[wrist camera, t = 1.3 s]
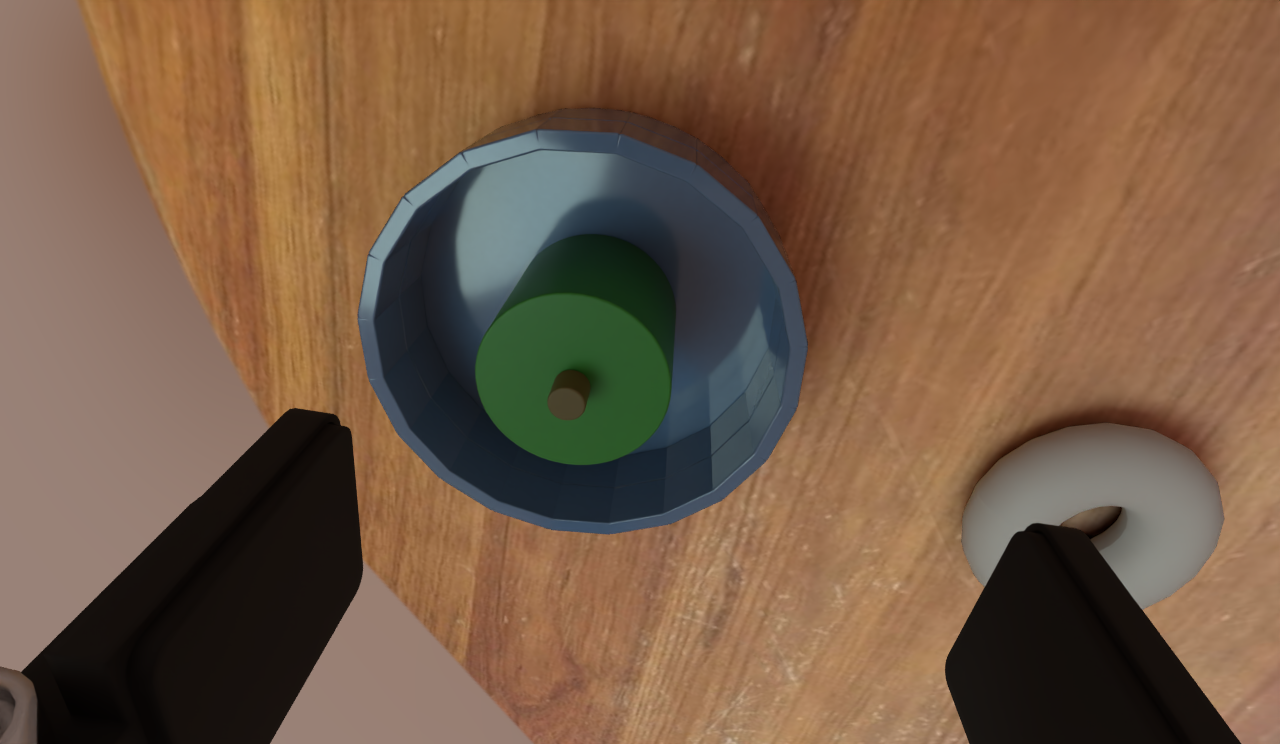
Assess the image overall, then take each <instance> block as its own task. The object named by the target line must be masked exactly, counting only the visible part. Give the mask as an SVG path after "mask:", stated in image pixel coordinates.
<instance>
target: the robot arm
mask: <svg viewBox="0 0 1280 744" xmlns="http://www.w3.org/2000/svg"><path fill="white" fill-rule="evenodd" d="M362 573H363V560H362V548H361V536H360V525H359V513H358V502H357V490H356V479H355V467H354V456H353V444H352V435H351V431H350V429H349V428H348V427H345V426H341V425H340V420H339V419H338V417H337V416H336V415H334V414H330V413H323V412H317V411H310V410H304V409H297V408H293V409H290V410H288V411H287V412H285V413H284V414H283V415H282V416H281V417H280V418H279V419H278V420H277V421H276V422H275V423H274V424H273V425H272V426H271V427H270V428H269V429H268V430H267V431H266V432H265V433H264V434H263V435H262V436H261V437H260V438H259V439H258V440H257V441H256V442H255V443H254V444H253V445H252V446H251V447H250V448H249V449H248V450H247V451H246V452H245V453H244V454H243V455H242V456H241V457H240V458H239V459H238V460H237V461H236V462H235V463H234V464H233V465H232V466H231V467H230V468H229V469H228V470H227V471H226V472H225V473H224V474H223V475H222V476H221V477H220V478H219V479H218V480H217V481H216V482H215V483H214V484H213V485H212V486H211V487H210V488H209V489H208V490H207V491H206V492H205V493H204V494H203V495H202V496H201V497H199V498H198V499H197V500H196V501H194V502H193V503H192V504H190V505H189V506H188V507H187V508H186V509H185V510H184V511H183V512H182V513H181V514H180V515H179V516H178V517H177V518H176V519H175V520H174V521H173V522H172V523H171V524H170V525H169V526H168V527H167V528H166V529H165V530H164V531H163V532H162V533H161V534H160V535H159V536H158V537H157V538H156V539H155V540H154V541H153V542H152V543H151V544H150V545H149V546H148V547H147V548H146V549H145V550H144V551H143V552H142V553H141V554H140V555H139V556H138V557H137V558H136V559H135V560H134V561H133V562H132V563H131V564H130V565H129V566H128V567H127V568H126V569H125V570H124V571H123V572H122V573H121V574H120V575H118V576H117V577H116V578H115V579H114V581H112V582H111V583H110V584H109V585H108V586H107V587H106V588H105V589H104V590H103V591H102V592H101V593H100V594H99V595H98V596H97V598H95V599H94V600H93V601H92V602H91V603H90V604H89V605H88V606H87V607H86V608H85V609H84V610H83V611H82V612H81V613H80V614H79V615H78V616H77V617H76V618H75V619H74V620H73V621H72V622H71V623H70V624H69V625H68V626H67V627H66V628H65V629H64V630H63V631H62V632H61V633H60V634H59V635H58V636H57V637H56V638H55V639H54V640H53V641H52V642H51V643H50V644H49V645H48V646H47V647H46V648H45V649H44V650H43V651H42V652H41V653H40V654H39V655H38V656H37V657H36V658H35V659H34V660H33V661H32V662H31V663H30V664H29V665H28V666H27V667H26V668H25V669H24V670H23V671H22V672H20V671H16V670H12V669H8V668H4V667H0V744H270V743H271V741H272V739H273V737H274V736H275V734H276V732H277V730H278V729H279V727H280V725H281V723H282V721H283V720H284V718H285V716H286V715H287V713H288V711H289V710H290V708H291V706H292V704H293V702H294V701H295V699H296V697H297V696H298V694H299V692H300V690H301V689H302V687H303V685H304V683H305V682H306V680H307V678H308V676H309V675H310V673H311V671H312V669H313V668H314V666H315V664H316V662H317V661H318V659H319V657H320V655H321V654H322V652H323V650H324V648H325V647H326V645H327V643H328V641H329V640H330V638H331V636H332V634H333V633H334V631H335V629H336V627H337V626H338V624H339V622H340V621H341V619H342V617H343V615H344V613H345V612H346V610H347V608H348V607H349V605H350V603H351V601H352V600H353V598H354V596H355V594H356V592H357V590H358V588H359V585H360V582H361V579H362ZM945 675H946V681H947V684H948V687H949V690H950V693H951V695H952V698H953V701H954V703H955V706H956V709H957V711H958V714H959V717H960V719H961V722H962V725H963V727H964V730H965V733H966V736H967V738H968V741H969V744H1241V743H1240V741H1239V740H1238V739H1237V737H1236V736H1235V735H1234V733H1233V732H1232V731H1231V729H1230V728H1229V727H1228V725H1227V724H1226V722H1225V721H1224V720H1223V718H1222V717H1221V716H1220V714H1219V713H1218V712H1217V710H1216V709H1215V708H1214V706H1213V705H1212V704H1211V702H1210V701H1209V700H1208V698H1207V697H1206V695H1205V694H1204V693H1203V691H1202V690H1201V689H1200V687H1199V686H1198V685H1197V683H1196V682H1195V681H1194V679H1193V678H1192V677H1191V675H1190V674H1189V672H1188V671H1187V670H1186V668H1185V667H1184V666H1183V664H1182V663H1181V662H1180V660H1179V659H1178V658H1177V656H1176V655H1175V654H1174V652H1173V651H1172V650H1171V648H1170V647H1169V645H1168V644H1167V643H1166V641H1165V640H1164V639H1163V637H1162V636H1161V635H1160V633H1159V632H1158V631H1157V629H1156V628H1155V627H1154V625H1153V624H1152V623H1151V621H1150V620H1149V618H1148V617H1147V616H1146V614H1145V613H1144V612H1143V610H1142V609H1141V608H1140V606H1139V605H1138V604H1137V602H1136V601H1135V600H1134V598H1133V597H1132V596H1131V594H1130V593H1129V591H1128V590H1127V589H1126V587H1125V586H1124V585H1123V583H1122V582H1121V581H1120V579H1119V578H1118V577H1117V575H1116V574H1115V573H1114V571H1113V570H1112V569H1111V567H1110V566H1109V564H1108V563H1107V562H1106V560H1105V559H1104V558H1103V556H1102V555H1101V554H1100V552H1099V551H1098V550H1097V548H1096V547H1095V546H1094V544H1093V543H1092V542H1091V540H1090V539H1089V537H1088V536H1087V535H1086V534H1085V533H1084V532H1083V531H1081V530H1078V529H1075V528H1068V527H1062V526H1056V525H1049V524H1043V523H1032V524H1031V525H1029V526H1028V527H1027V528H1026V529H1025V530H1024V531H1018V532H1017V533H1015V534H1014V535H1013V537H1012V538H1011V540H1010V541H1009V543H1008V545H1007V547H1006V549H1005V551H1004V553H1003V554H1002V556H1001V558H1000V560H999V562H998V564H997V565H996V567H995V569H994V571H993V573H992V575H991V577H990V578H989V580H988V582H987V584H986V586H985V588H984V590H983V591H982V593H981V595H980V597H979V599H978V601H977V602H976V604H975V606H974V608H973V610H972V612H971V614H970V615H969V617H968V619H967V621H966V623H965V625H964V627H963V628H962V630H961V632H960V634H959V636H958V638H957V640H956V641H955V643H954V645H953V647H952V649H951V651H950V652H949V654H948V657H947V659H946V665H945Z"/></svg>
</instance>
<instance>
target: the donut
mask: <svg viewBox="0 0 1280 744" xmlns="http://www.w3.org/2000/svg"><path fill="white" fill-rule="evenodd" d="M1102 506H1118V507H1122V511H1121V514H1120V516H1119V517H1118V519H1117V520H1116V522H1115V523H1114V524H1113V525H1111V526H1110V527H1109V528H1108V529H1107V530H1106V531H1104V532H1103V533H1101V534H1099V535H1097V536H1095V537H1093V538H1091V539H1090V540H1091V542H1092V543H1093V544H1094V546H1095V547H1096V548H1097V550H1098V551H1099V552H1100V554H1101V555H1102V556H1103V558H1104V559H1105V560H1106V562H1107V563H1108V564H1109V566H1110V567H1111V569H1112V570H1113V571H1114V573H1115V574H1116V575H1117V577H1118V578H1119V579H1120V581H1121V582H1122V583H1123V585H1124V586H1125V587H1126V589H1127V590H1128V591H1129V593H1130V594H1131V596H1132V597H1133V598H1134V600H1135V601H1136V602H1137V604H1138V605H1139V606H1140V608H1141V609H1145V608H1147V607H1149V606H1151V605H1153V604H1155V603H1157V602H1159V601H1161V600H1163V599H1165V598H1167V597H1169V596H1171V595H1172V594H1173V593H1175V592H1176V591H1177V590H1178V589H1180V588H1181V587H1182V586H1183V585H1185V584H1186V583H1187V582H1189V581H1190V580H1191V579H1192V578H1194V577H1195V576H1196V575H1197V573H1198V572H1199V571H1200V569H1201V568H1202V567H1203V565H1204V564H1205V563H1206V561H1207V560H1208V558H1209V557H1210V556H1211V554H1212V553H1213V552H1214V550H1215V548H1216V546H1217V543H1218V539H1219V536H1220V532H1221V529H1222V525H1223V522H1224V513H1223V507H1222V502H1221V497H1220V492H1219V486H1218V482H1217V481H1216V480H1215V478H1214V477H1213V475H1212V474H1211V473H1210V472H1209V470H1208V469H1207V468H1206V467H1205V466H1204V464H1203V463H1202V462H1201V461H1200V459H1199V458H1198V457H1197V456H1196V455H1195V453H1194V452H1193V451H1192V450H1190V449H1189V448H1187V447H1185V446H1184V445H1182V444H1180V443H1178V442H1176V441H1174V440H1172V439H1170V438H1168V437H1166V436H1164V435H1162V434H1160V433H1158V432H1156V431H1154V430H1151V429H1145V428H1139V427H1132V426H1125V425H1119V424H1112V423H1099V424H1089V425H1080V426H1071V427H1066V428H1063V429H1060V430H1057V431H1054V432H1051V433H1049V434H1046V435H1043V436H1040V437H1037V438H1034V439H1031V440H1029V441H1028V442H1026V443H1025V444H1023V445H1021V446H1020V447H1018V448H1017V449H1015V450H1013V451H1012V452H1010V453H1009V454H1007V455H1005V456H1004V457H1002V458H1001V459H999V460H998V461H997V462H996V463H995V465H994V466H993V467H992V468H991V469H990V470H989V471H988V472H987V473H986V474H985V475H984V476H983V477H982V478H981V479H980V480H979V482H978V483H977V484H976V486H975V488H974V490H973V492H972V494H971V497H970V499H969V501H968V503H967V505H966V507H965V509H964V513H963V520H962V539H961V542H962V546H963V550H964V553H965V555H966V558H967V560H968V562H969V565H970V567H971V570H972V572H973V574H974V575H975V577H976V578H977V579H978V581H979V582H980V583H981V584H982V585H983V586H984V587H985V586H986V584H987V582H988V580H989V578H990V577H991V575H992V573H993V571H994V569H995V567H996V565H997V564H998V562H999V560H1000V558H1001V556H1002V554H1003V553H1004V551H1005V549H1006V547H1007V545H1008V543H1009V541H1010V540H1011V538H1012V537H1013V535H1014V534H1015V533H1017V532H1018V531H1024V530H1025V529H1026V528H1027V527H1028V526H1029V525H1031V524H1032V523H1043V524H1049V525H1056V526H1059V525H1060V524H1061V523H1062V522H1064V521H1066V520H1067V519H1069V518H1071V517H1073V516H1075V515H1076V514H1078V513H1080V512H1083V511H1086V510H1089V509H1093V508H1096V507H1102Z"/></svg>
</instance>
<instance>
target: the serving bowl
mask: <svg viewBox="0 0 1280 744" xmlns="http://www.w3.org/2000/svg"><path fill="white" fill-rule="evenodd" d="M583 234H598V235H607V236H611V237H615V238H618V239H621V240H624V241H627V242H629V243H631V244H632V245H634V246H636V247H638V248H639V249H641V250H642V251H644V252H645V253H646V254H647V255H649V256H650V257H651V258H652V259H653V260H654V261H655V262H656V263H657V264H658V266H659V267H660V268H661V269H662V271H663V272H664V274H665V275H666V277H667V279H668V281H669V283H670V285H671V288H672V291H673V294H674V299H675V305H676V324H675V340H674V357H673V374H672V390H671V398H670V403H669V407H668V410H667V413H666V415H665V417H664V419H663V421H662V423H661V424H660V426H659V428H658V429H657V430H656V432H655V433H654V434H653V435H652V436H651V437H650V439H648V440H647V441H646V442H645V443H644V444H643V445H642V446H640V447H639V448H637V449H636V450H634V451H633V452H631V453H629V454H627V455H625V456H623V457H621V458H618V459H615V460H612V461H609V462H604V463H600V464H591V465H572V464H563V463H559V462H554V461H550V460H547V459H544V458H541V457H539V456H536V455H534V454H532V453H530V452H528V451H526V450H524V449H523V448H521V447H519V446H518V445H517V444H515V443H514V442H512V441H511V440H510V439H509V438H508V437H506V436H505V435H504V434H503V433H502V432H501V431H500V430H499V429H498V427H497V426H496V425H495V424H494V423H493V421H492V420H491V418H490V417H489V415H488V414H487V412H486V410H485V408H484V406H483V404H482V402H481V399H480V396H479V393H478V390H477V385H476V378H475V364H476V356H477V352H478V349H479V346H480V343H481V341H482V339H483V336H484V335H485V333H486V332H487V330H488V328H489V327H490V325H491V324H492V322H493V321H494V319H495V317H496V316H497V314H498V313H499V311H500V310H501V308H502V306H503V305H504V303H505V302H506V300H507V299H508V297H509V295H510V294H511V292H512V291H513V289H514V288H515V286H516V284H517V283H518V281H519V280H520V278H521V277H522V275H523V273H524V272H525V270H526V269H527V267H528V266H529V264H530V263H531V262H532V260H533V259H534V258H535V257H536V256H537V255H538V254H539V253H540V252H542V251H543V250H544V249H545V248H547V247H548V246H550V245H552V244H553V243H555V242H558V241H560V240H562V239H565V238H568V237H572V236H577V235H583ZM358 324H359V330H360V336H361V341H362V347H363V352H364V358H365V363H366V369H367V375H368V378H369V382H370V384H371V385H372V387H373V389H374V391H375V393H376V395H377V397H378V399H379V400H380V402H381V404H382V406H383V408H384V410H385V412H386V414H387V415H388V417H389V419H390V421H391V423H392V425H393V427H394V429H395V431H396V432H397V433H398V435H399V436H400V437H401V439H402V440H403V441H404V442H405V443H406V444H407V445H408V446H409V447H410V448H411V449H412V450H413V451H414V452H415V453H416V454H417V455H418V456H419V457H420V458H421V459H422V460H423V461H424V462H425V464H426V465H427V466H428V467H429V468H430V469H431V470H432V471H433V472H434V473H435V474H436V475H437V476H438V477H439V478H441V479H442V480H443V481H445V482H446V483H448V484H450V485H451V486H453V487H455V488H456V489H458V490H459V491H461V492H463V493H464V494H466V495H468V496H469V497H471V498H472V499H474V500H476V501H477V502H479V503H480V504H482V505H484V506H485V507H487V508H489V509H490V510H493V511H494V512H498V513H501V514H504V515H507V516H510V517H513V518H516V519H519V520H522V521H525V522H528V523H531V524H534V525H537V526H541V527H544V528H547V529H551V530H558V531H571V532H584V533H597V534H616V533H622V532H628V531H634V530H639V529H645V528H651V527H657V526H663V525H668V524H672V523H674V522H676V521H679V520H681V519H683V518H685V517H687V516H689V515H692V514H694V513H696V512H698V511H700V510H702V509H705V508H707V507H709V506H711V505H713V504H715V503H718V502H720V501H722V500H723V499H724V498H725V497H727V496H728V495H729V494H730V493H731V492H732V491H733V490H734V489H736V488H737V487H738V486H739V485H740V484H741V483H742V482H743V481H745V480H746V479H747V478H748V477H749V476H750V475H751V474H753V473H754V472H755V471H756V470H757V469H758V468H759V467H760V466H762V465H763V464H764V463H765V462H766V460H768V458H769V456H770V455H771V453H772V451H773V449H774V448H775V446H776V444H777V443H778V441H779V439H780V437H781V436H782V434H783V432H784V430H785V429H786V427H787V425H788V423H789V422H790V420H791V418H792V417H793V415H794V413H795V411H796V409H797V407H798V402H799V396H800V391H801V385H802V379H803V374H804V368H805V362H806V357H807V351H808V341H807V336H806V330H805V325H804V320H803V314H802V309H801V303H800V298H799V292H798V287H797V282H796V279H795V276H794V273H793V270H792V268H791V265H790V262H789V260H788V257H787V254H786V252H785V249H784V246H783V243H782V241H781V238H780V235H779V234H778V232H777V230H776V229H775V227H774V225H773V223H772V222H771V220H770V218H769V216H768V215H767V213H766V211H765V209H764V207H763V206H762V204H761V202H760V200H759V199H758V197H757V196H756V194H755V193H754V191H753V189H752V188H751V186H750V184H749V183H748V182H747V180H746V179H744V178H743V177H742V176H741V175H740V174H739V173H738V172H737V171H736V170H735V169H734V168H733V167H732V166H731V165H730V164H729V163H728V162H727V161H726V160H725V159H724V158H723V157H721V156H720V155H719V154H717V153H716V152H715V151H713V150H712V149H711V148H709V147H708V146H707V145H705V144H704V143H703V142H701V141H700V140H699V139H698V138H695V137H694V136H691V135H689V134H687V133H685V132H684V131H682V130H680V129H678V128H676V127H674V126H671V125H669V124H666V123H664V122H661V121H659V120H656V119H653V118H651V117H647V116H643V115H639V114H636V113H631V112H626V111H622V110H612V109H601V108H580V109H567V108H565V109H559V110H555V111H552V112H549V113H543V114H538V115H536V116H533V117H530V118H527V119H524V120H521V121H518V122H515V123H512V124H509V125H505V126H502V127H500V128H498V129H496V130H494V131H493V132H491V133H490V134H488V135H486V136H485V137H483V138H482V139H480V140H478V141H477V142H475V143H474V144H472V145H470V146H469V147H467V148H466V149H464V150H462V151H461V152H459V153H458V154H457V155H455V156H454V157H453V158H451V159H450V160H449V161H447V162H446V163H445V164H443V165H442V166H441V167H440V168H438V169H437V170H436V171H434V172H433V173H432V174H430V175H429V176H428V177H426V178H425V179H424V180H422V181H421V182H420V183H418V184H417V185H416V186H415V187H413V188H412V189H411V190H409V191H408V192H407V193H405V195H404V196H403V197H402V198H401V200H400V201H399V203H398V205H397V206H396V208H395V210H394V211H393V213H392V215H391V216H390V218H389V219H388V221H387V223H386V224H385V226H384V228H383V229H382V231H381V233H380V234H379V236H378V238H377V239H376V241H375V243H374V244H373V246H372V248H371V249H370V251H369V254H368V257H367V263H366V269H365V274H364V280H363V286H362V292H361V298H360V304H359V309H358Z"/></svg>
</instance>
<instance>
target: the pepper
mask: <svg viewBox="0 0 1280 744" xmlns="http://www.w3.org/2000/svg"><path fill="white" fill-rule="evenodd" d="M675 324H676V305H675V299H674V294H673V291H672V288H671V285H670V283H669V281H668V279H667V277H666V275H665V274H664V272H663V271H662V269H661V268H660V267H659V266H658V264H657V263H656V262H655V261H654V260H653V259H652V258H651V257H650V256H649V255H647V254H646V253H645V252H644V251H642V250H641V249H639V248H638V247H636V246H634V245H632V244H631V243H629V242H627V241H624V240H621V239H618V238H615V237H611V236H607V235H598V234H583V235H577V236H572V237H568V238H565V239H562V240H560V241H558V242H555V243H553V244H552V245H550V246H548V247H547V248H545V249H544V250H543V251H542V252H540V253H539V254H538V255H537V256H536V257H535V258H534V259H533V260H532V262H531V263H530V264H529V266H528V267H527V269H526V270H525V272H524V273H523V275H522V277H521V278H520V280H519V281H518V283H517V284H516V286H515V288H514V289H513V291H512V292H511V294H510V295H509V297H508V299H507V300H506V302H505V303H504V305H503V306H502V308H501V310H500V311H499V313H498V314H497V316H496V317H495V319H494V321H493V322H492V324H491V325H490V327H489V328H488V330H487V332H486V333H485V335H484V336H483V339H482V341H481V343H480V346H479V349H478V352H477V356H476V364H475V378H476V385H477V390H478V393H479V396H480V399H481V402H482V404H483V406H484V408H485V410H486V412H487V414H488V415H489V417H490V418H491V420H492V421H493V423H494V424H495V425H496V426H497V427H498V429H499V430H500V431H501V432H502V433H503V434H504V435H505V436H506V437H508V438H509V439H510V440H511V441H512V442H514V443H515V444H517V445H518V446H519V447H521V448H523V449H524V450H526V451H528V452H530V453H532V454H534V455H536V456H539V457H541V458H544V459H547V460H550V461H554V462H559V463H563V464H572V465H591V464H600V463H604V462H609V461H612V460H615V459H618V458H621V457H623V456H625V455H627V454H629V453H631V452H633V451H634V450H636V449H637V448H639V447H640V446H642V445H643V444H644V443H645V442H646V441H647V440H648V439H650V437H651V436H652V435H653V434H654V433H655V432H656V430H657V429H658V428H659V426H660V424H661V423H662V421H663V419H664V417H665V415H666V413H667V410H668V407H669V403H670V398H671V390H672V374H673V357H674V340H675Z"/></svg>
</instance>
